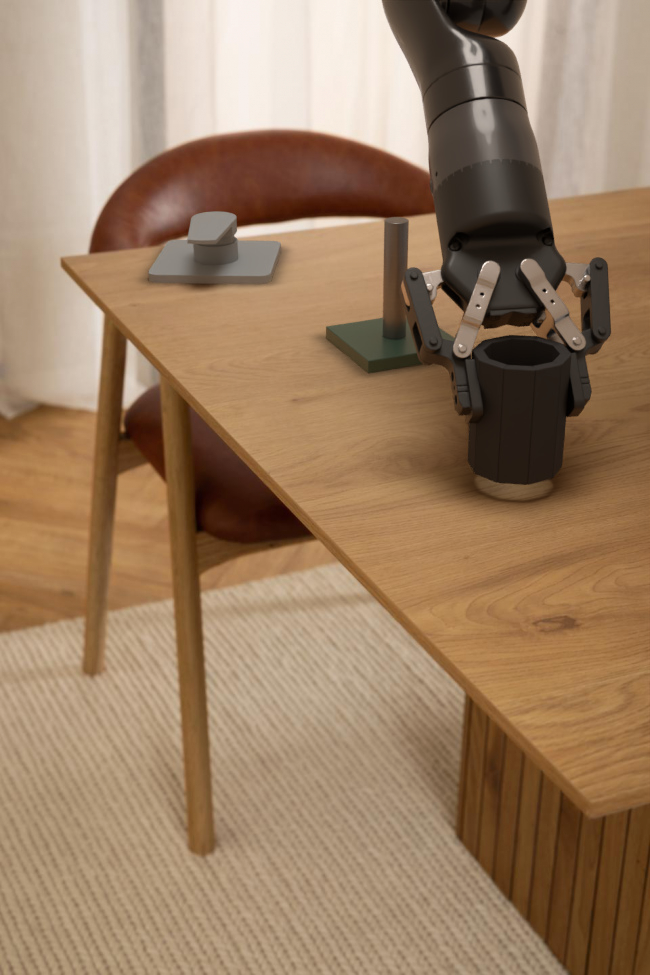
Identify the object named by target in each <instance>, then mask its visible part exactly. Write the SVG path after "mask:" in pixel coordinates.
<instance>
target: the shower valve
mask: <svg viewBox="0 0 650 975" xmlns="http://www.w3.org/2000/svg"><path fill="white" fill-rule="evenodd" d="M237 219H238V218H237V215H236V214H234V213H232V212H228V211H219V210H217V211H206V212H199V213H196V214H194V215H192V216H191V218H190V223H189V228H188V233H187V239H172V240H169V241H167V242H166V244H165V245H164V247H163V248H162V249H161V251H160V253H159V255H158V256H157V257H156V259H155V261H154V262H153V263H152V265H151V266H150V268H149V270H148V271H147V272H148V281H149V282H151V283H155V284H208V285H209V284H210V285H212V284H213V285H217V284H218V285H219V284H220V285H222V284H223V285H267V284H269V283H271V282H272V279H273V276H274V274H275V271H276V269H277V265H278V262H279V259H280V257H281V254H282V243H281V242H280V241H277V240H240V239H239V240H238V238H237V237H236V236H235V235H236V234H237V232H238V220H237Z"/></svg>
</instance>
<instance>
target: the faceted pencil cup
mask: <svg viewBox="0 0 650 975" xmlns="http://www.w3.org/2000/svg"><path fill="white" fill-rule="evenodd" d="M471 359H475V363H476V369H477V375H478V380H479V384H480V391H481V397H482V404H483V416H482V417H481V419H480V421H479V423H473V424H468V438H467V463H468V465H469V466H470V468H471V470H472V472H473V473H474V474H475V475H477V476H479V477H482V478H484V479H487V480H489V481H491V482H493V483H498V484H508V485H520V486H521V485H522V486H523V485H524V486H526V485H534V484H538V483H541V482H545V481H548V480H552V479H554V478H555V476H556V475H557V474H558V473H559V471H560V470H561V469H562V468H563V462H564V459H563V458H564V450H565V449H564V448H565V438H566V437H565V436H566V425H567V417H566V414H567V402H568V390H569V378H570V366H571V353H570V352H569V351H568V350H567V348H566V347H565V346H564V345H563V344H561V343H558V342H555V341H552V340H549V339H545V338H542V337H538V336H537V335H523V334H522V335H521V334H519V335H518V334H507V335H502V336H497V337H491V338H486V339H483V340H481V341H480V342H478V343H477V345H476V346H475V347H473V349H472V351H471Z"/></svg>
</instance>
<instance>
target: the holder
mask: <svg viewBox="0 0 650 975" xmlns="http://www.w3.org/2000/svg"><path fill="white" fill-rule="evenodd" d="M383 222H384V225H383V231H384V232H383V278H382V279H383V281H382V285H383V286H382V287H383V288H382V291H383V292H382V295H383V296H382V317H379V318H372V319H366V320H359V321H352V322H346V323H340V324H333V325H332V324H331V325H326V326H325V339H327V341H329V343H331V344H333V346H335V347H336V348H337V349H338V350H339V351H341V352H342V353H343V354H344V355H345V356H347V357H348V358H349V359H350V360H351V361H353V362H354V363H355V364H356V365H357V366H359V367H360V368H361V369H362V370H364V371H365V372H366V373H367V374H373V373H379V372H384V371H391V370H396V369H402V368H409V367H415V366H419V365H423V364H422V363H421V362H420V361H419V358H418V355H417V352H416V348H415V345H414V341H413V338H412V334H411V331H410V327H409V324H408V321H407V317H406V314H405V310H404V307H403V303H402V300H401V297H400V288H401V285H402V281H403V278H404V275H405V272H406V270H407V269H409V268H408V264H409V263H408V262H409V228H410V227H409V226H410V223H409V222H410V221H409V219H408V218H406V217H402V216H391V217H386V218H385V219H384V220H383ZM439 330H440V333H441V337H442V339H446V340H450V341H453V342H454V339H455V336H453V335H451V334H450V333H448V332H447V331H445V330H444V329H442V328H441V327H439Z"/></svg>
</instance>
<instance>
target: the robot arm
mask: <svg viewBox="0 0 650 975" xmlns="http://www.w3.org/2000/svg"><path fill="white" fill-rule="evenodd" d="M381 4H382V9H383V13H384V15H385V19H386V21H387V23H388V27H389V28H390V30H391V33H392V35H393V38H394V39H395V41H396V43H397V45H398V46H399V48H400V50H401V52H402V54H403V56H404V58H405V60H406V62H407V64H408V66H409V69H410V71H411V73H412V75H413V77H414V79H415V81H416V82H415V83H416V84H417V86H418V89H419V92H420V95H421V96H420V97H421V103H422V109H423V116H424V122H425V127H426V135H427V143H428V144H427V145H428V154H427V156H428V157H427V158H428V159H427V160H428V172H429V190H430V194H431V195H432V198H433V206H434V211H435V219H436V224H437V232H438V238H439V246H440V253H441V258H442V264H441V267H440V269H435V270H430V271H425V272H423V271H422V270H421V269H420V268H418V267H415V266H413V267H409V268H408V269H407V270H406V272H405V275H404V278H403V281H402V285H401V288H400V297H401V300H402V303H403V307H404V310H405V314H406V317H407V321H408V324H409V327H410V331H411V334H412V338H413V341H414V345H415V348H416V352H417V355H418V358H419V361H420V362H421V363H422V364H421V365H425V366H431V365H433V364H434V365H438V366H441V367H443V368H445V369H446V370H447V373H448V374H449V380H450V387H451V393H452V400H453V406H454V411H455V412H456V414H457V415H458V416H459V417H463V416H464V418H465V423H466V424H467V425H469V424H473V423H479V421H480V419H481V417H482V416H483V404H482V397H481V391H480V384H479V380H478V375H477V369H476V363H475V359H472V350H473V349H474V345H475V342H476V340H477V337H478V335H479V331H480V329H481V326H482V327H483V330H490V329H498V328H501V327H503V326H512V327H515V328H523V327H530V328H531V329H532V330H533V332H534V333H535V336H538V337H542V338H545V339H549V340H552V341H555V342H558V343H561V344H563V345H564V346H565V347H566V348H567V350H568V351H569V352H570V353H571V366H570V378H569V390H568V402H567V414H566V418H574V417H579V416H580V414H581V413H582V412H583V410H584V409H585V407H586V405H587V404H588V403H589V401H590V400H591V397H592V393H593V391H592V387H591V386H592V385H591V379H590V375H589V370H588V364H587V360H586V356H588V355H590V356H591V355H592V356H593V355H596V354H597V353H599V352H600V350H601V349H602V346H603V345H604V344H605V342H607V341H608V339H609V338H610V337H611V334H612V323H611V302H610V301H611V300H610V280H609V264H608V262H607V261H606V259H605V258H603V257H599V256H598V257H597V256H595V257H593V258H592V259H591V260H590V262H589V263H584V262H583V263H582V262H570V261H569V262H566V260H565V257H563V255H562V254H561V253H560V251H559V250H558V248H557V246H556V243H555V232H554V228H553V221H552V217H551V210H550V205H549V201H548V200H549V199H548V194H547V189H546V184H545V179H544V172H543V168H542V162H541V156H540V152H539V147H538V142H537V139H536V136H535V133H534V130H533V128H532V125H531V121H530V117H529V112H528V106H527V101H526V96H525V90H524V86H523V85H524V84H523V78H522V73H521V69H520V65H519V61H518V59H517V56H516V54H515V52H514V51H513V49H512V48H511V47H510V46H509V45H508V44H507V43H505V42H504V41H502V40H500V39H498V38H501V37H503V36H506V35H507V34H509V33H510V32H511V31H512V30H513V29H514V28H515V27H516V26H517V24H518V23H519V21H520V20H521V19H522V17H523V14H524V13H525V10H526V7H527V4H528V0H381ZM562 282H566V283H567V284H568V285H569V286H570V289H571V292H572V294H573V296H574V297H575V298H579V299H580V300H579V302H580V303H579V306H580V327H581V330H580V329H579V328H578V326H577V325H576V324H575V322H574V321H573V320H572V317H571V316H570V311H569V308H568V307H567V304H566V303H565V302H564V300H563V299H562V298H561V297H560V295H559V294H558V293H557V290H558V289H559V286H560V285H561V283H562ZM439 289H441V290H442V291H443V292H444V293H445V295H446V296H447V297H448V298H449V299H450V300H451V301H452V302H453V303H454V304H455V305H456V306H457V307H458V308H459V309H460V310H461V311H462V312H463V313H462V316H461V319H460V322H459V325H458V328H457V330H456V333H455V336H454V338H455V339H454V342H453V341H450V340H446V339H442V337H441V333H440V330H439V328H440V326H439V324H438V320H437V317H436V313H435V311H434V306H433V305H434V304H435V301H436V298H437V295H438V290H439Z"/></svg>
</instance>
